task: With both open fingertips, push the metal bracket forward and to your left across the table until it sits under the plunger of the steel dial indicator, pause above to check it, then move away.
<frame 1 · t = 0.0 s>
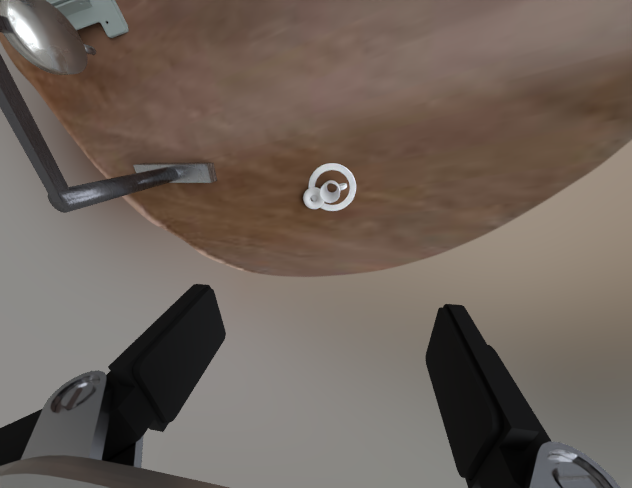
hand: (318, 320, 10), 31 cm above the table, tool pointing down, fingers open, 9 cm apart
white ring with cylinder: (317, 176, 39), on the table
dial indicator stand: (179, 171, 41), on the table
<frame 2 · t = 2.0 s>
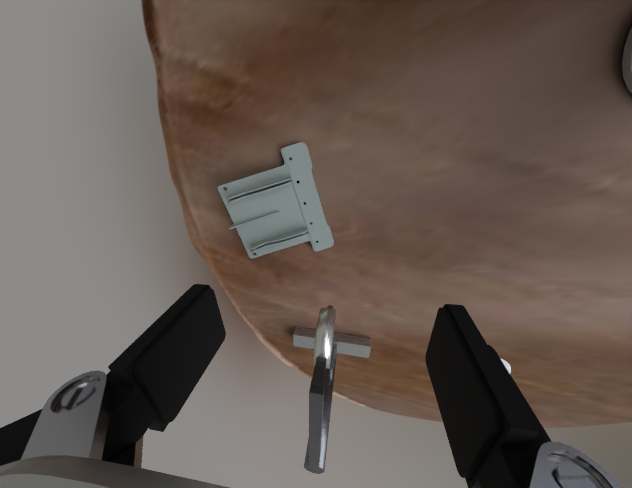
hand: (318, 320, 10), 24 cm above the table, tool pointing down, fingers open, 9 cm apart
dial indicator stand: (331, 337, 43), on the table
metal bracket: (280, 207, 34), on the table
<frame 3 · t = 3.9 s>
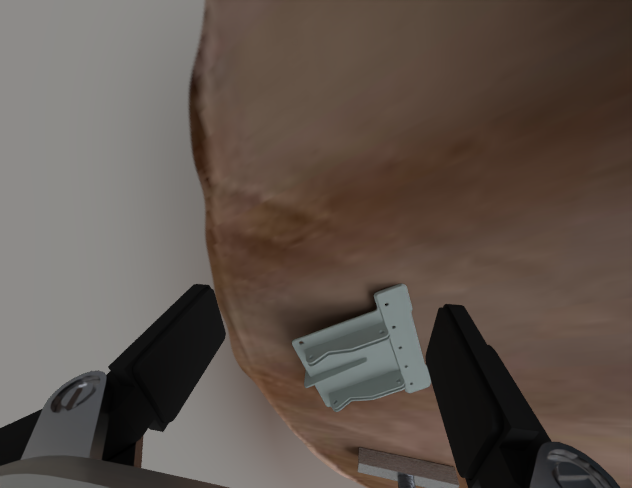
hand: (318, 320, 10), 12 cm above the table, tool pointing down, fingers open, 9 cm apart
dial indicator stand: (403, 461, 36), on the table
metal bracket: (361, 340, 27), on the table
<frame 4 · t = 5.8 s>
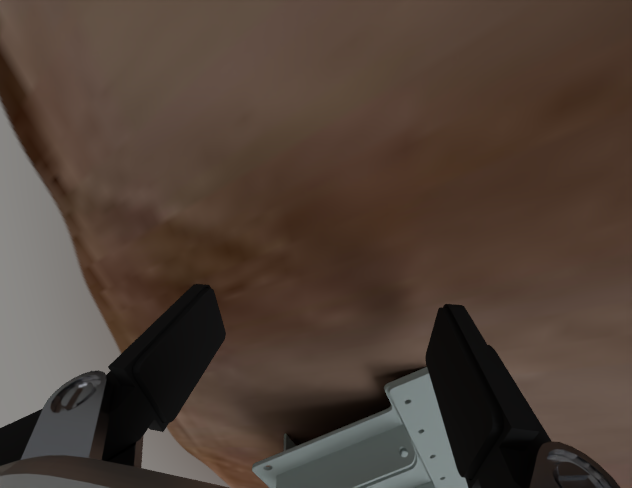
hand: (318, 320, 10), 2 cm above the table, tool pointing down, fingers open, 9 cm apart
metal bracket: (368, 432, 18), on the table
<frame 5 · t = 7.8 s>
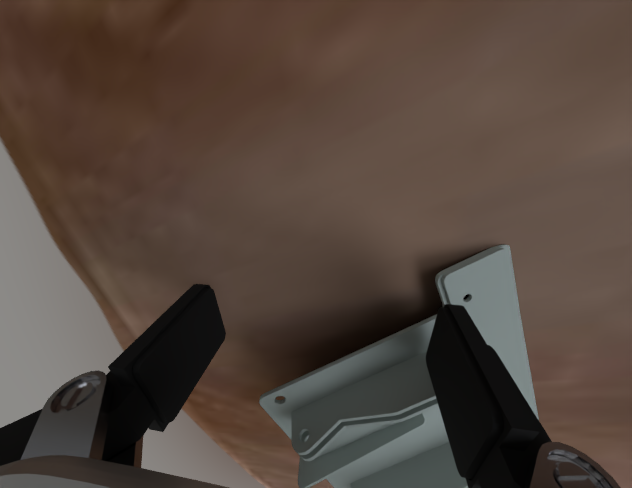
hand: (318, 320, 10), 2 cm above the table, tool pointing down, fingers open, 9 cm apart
metal bracket: (402, 372, 14), on the table, touching gripper
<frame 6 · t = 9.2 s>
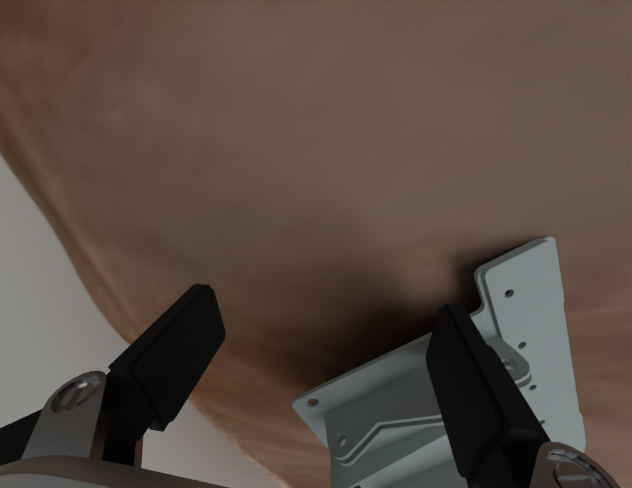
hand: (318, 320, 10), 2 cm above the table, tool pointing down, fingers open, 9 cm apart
metal bracket: (431, 372, 14), on the table
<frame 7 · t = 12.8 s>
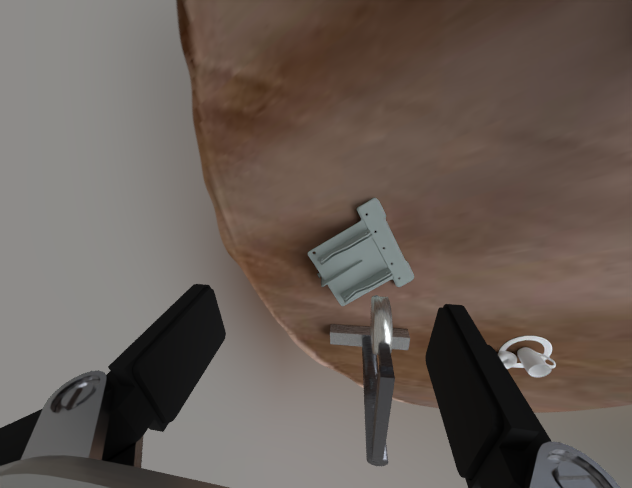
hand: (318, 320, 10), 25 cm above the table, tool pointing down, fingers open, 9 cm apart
white ring with cylinder: (508, 340, 40), on the table
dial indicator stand: (367, 332, 43), on the table
metal bracket: (357, 254, 37), on the table
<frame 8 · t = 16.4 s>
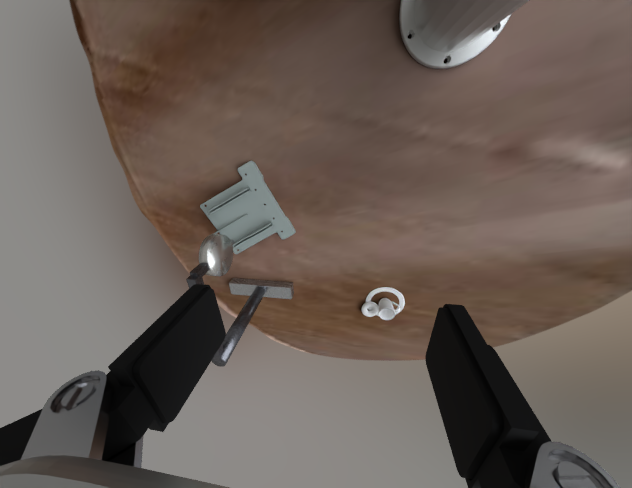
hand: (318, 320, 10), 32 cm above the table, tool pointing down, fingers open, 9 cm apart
white ring with cylinder: (373, 292, 49), on the table
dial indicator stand: (263, 285, 52), on the table
metal bracket: (250, 211, 45), on the table
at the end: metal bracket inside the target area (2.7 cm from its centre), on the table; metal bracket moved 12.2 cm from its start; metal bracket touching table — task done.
